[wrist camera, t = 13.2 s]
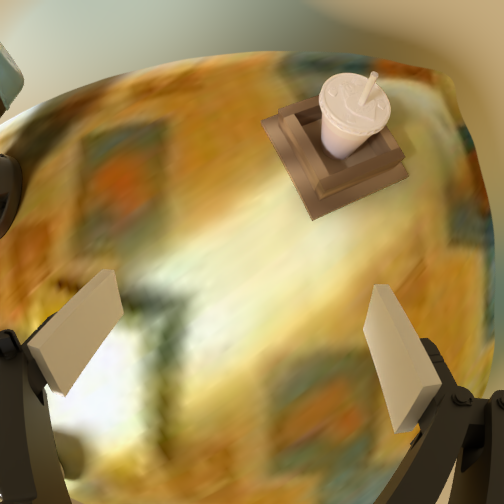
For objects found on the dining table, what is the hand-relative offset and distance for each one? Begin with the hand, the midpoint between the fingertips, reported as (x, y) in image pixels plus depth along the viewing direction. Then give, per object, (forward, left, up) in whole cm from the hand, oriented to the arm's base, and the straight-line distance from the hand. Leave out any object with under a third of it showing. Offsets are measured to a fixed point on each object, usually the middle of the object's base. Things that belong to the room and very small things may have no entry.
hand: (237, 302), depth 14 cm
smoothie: (-11, +15, -16) cm, 24 cm away
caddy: (-11, +15, -17) cm, 25 cm away
